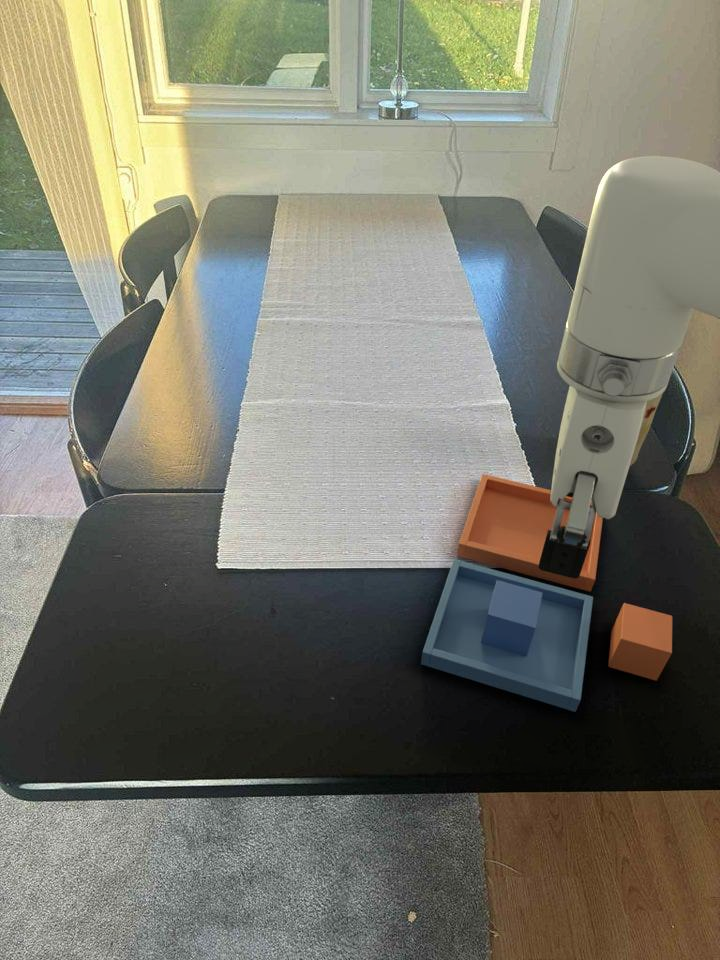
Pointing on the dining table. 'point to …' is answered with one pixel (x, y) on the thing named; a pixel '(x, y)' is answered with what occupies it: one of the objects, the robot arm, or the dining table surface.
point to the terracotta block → (641, 641)
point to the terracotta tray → (519, 530)
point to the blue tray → (538, 675)
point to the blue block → (512, 618)
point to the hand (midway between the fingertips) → (565, 531)
